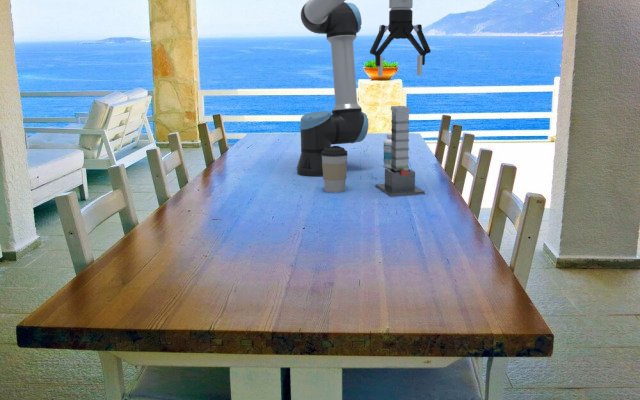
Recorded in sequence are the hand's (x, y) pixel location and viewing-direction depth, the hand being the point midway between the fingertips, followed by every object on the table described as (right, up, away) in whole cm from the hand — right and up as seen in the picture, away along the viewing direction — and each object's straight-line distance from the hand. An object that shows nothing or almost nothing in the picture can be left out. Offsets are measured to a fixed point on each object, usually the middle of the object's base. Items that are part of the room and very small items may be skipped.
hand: (400, 75), depth 227 cm
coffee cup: (-21, -38, +9) cm, 44 cm away
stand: (+1, -38, +7) cm, 38 cm away
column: (+1, -31, +5) cm, 31 cm away
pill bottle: (+3, -28, +50) cm, 57 cm away
